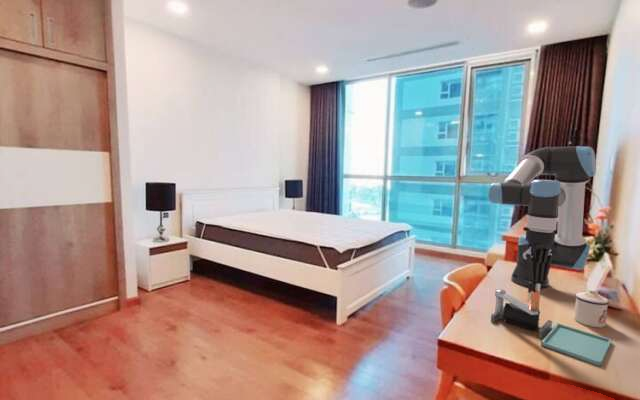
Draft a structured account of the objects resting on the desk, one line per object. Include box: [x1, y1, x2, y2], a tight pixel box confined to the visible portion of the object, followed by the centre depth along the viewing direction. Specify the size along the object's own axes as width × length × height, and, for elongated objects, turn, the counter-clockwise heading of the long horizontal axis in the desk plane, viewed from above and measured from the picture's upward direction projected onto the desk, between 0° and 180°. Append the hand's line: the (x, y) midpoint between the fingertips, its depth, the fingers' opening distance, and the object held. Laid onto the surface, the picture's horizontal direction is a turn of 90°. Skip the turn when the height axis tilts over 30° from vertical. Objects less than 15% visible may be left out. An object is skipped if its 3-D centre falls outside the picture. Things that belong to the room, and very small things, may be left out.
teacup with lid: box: [573, 289, 610, 328], centre depth 118 cm, size 12×9×12 cm
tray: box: [540, 323, 612, 368], centre depth 102 cm, size 19×14×1 cm
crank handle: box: [494, 288, 541, 315], centre depth 111 cm, size 3×18×8 cm, turn 8°
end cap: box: [502, 302, 541, 331], centre depth 114 cm, size 10×7×7 cm
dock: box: [490, 296, 553, 340], centre depth 114 cm, size 11×16×8 cm
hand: (532, 302), depth 105 cm, fingers closed
